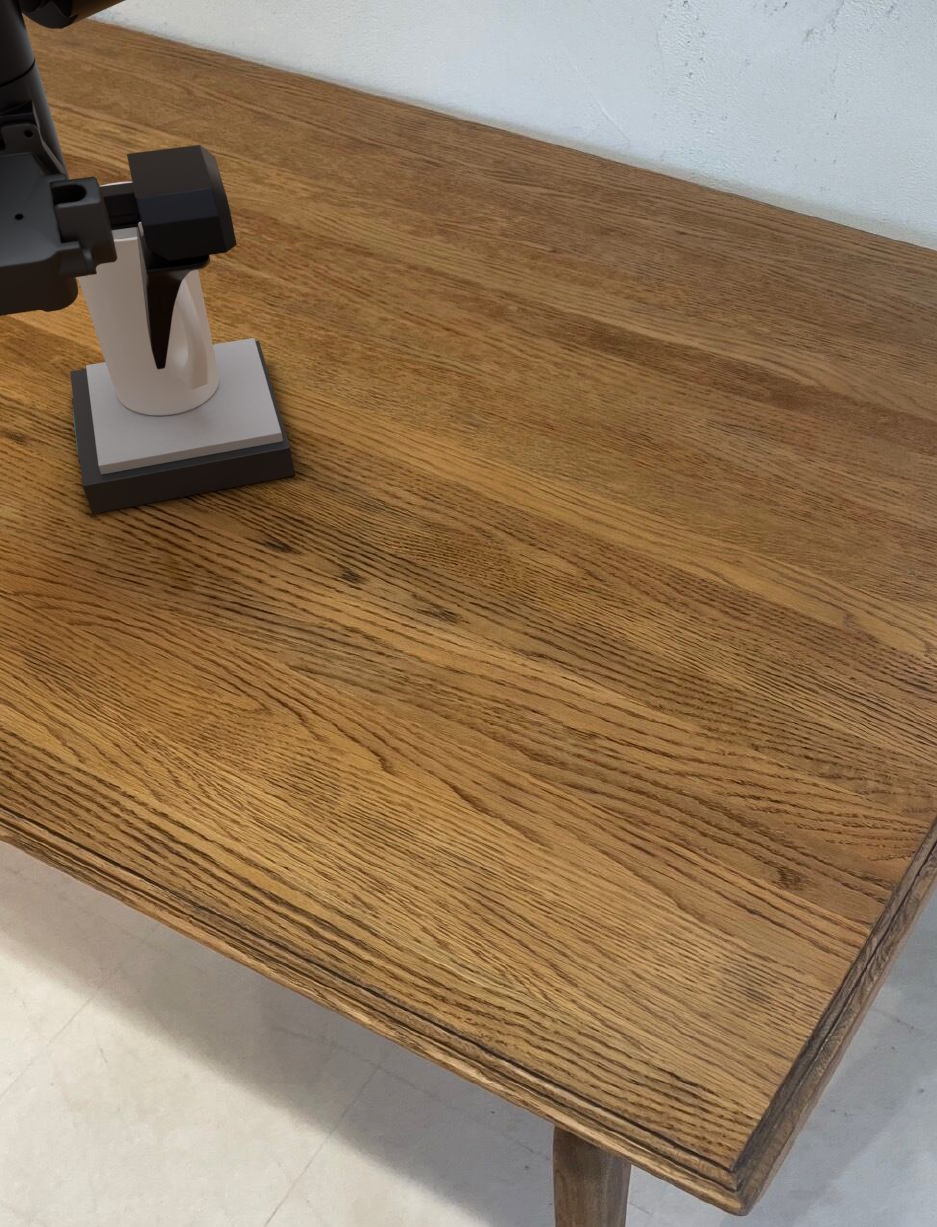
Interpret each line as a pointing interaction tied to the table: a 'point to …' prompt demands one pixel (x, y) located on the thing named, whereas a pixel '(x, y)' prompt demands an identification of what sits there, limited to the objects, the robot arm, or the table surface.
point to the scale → (180, 436)
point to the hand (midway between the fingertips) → (64, 380)
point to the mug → (127, 338)
